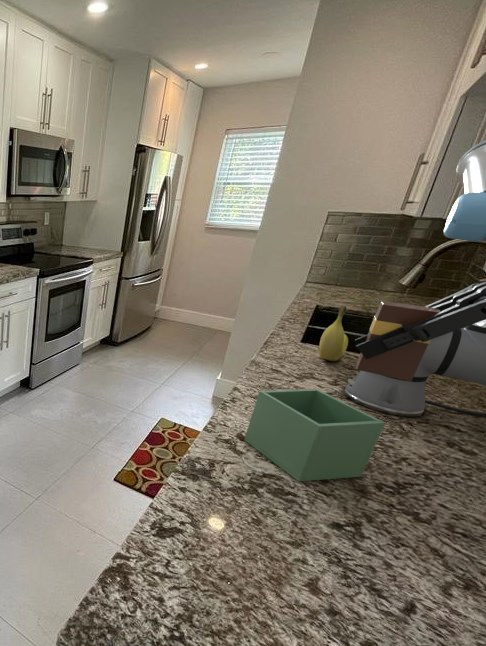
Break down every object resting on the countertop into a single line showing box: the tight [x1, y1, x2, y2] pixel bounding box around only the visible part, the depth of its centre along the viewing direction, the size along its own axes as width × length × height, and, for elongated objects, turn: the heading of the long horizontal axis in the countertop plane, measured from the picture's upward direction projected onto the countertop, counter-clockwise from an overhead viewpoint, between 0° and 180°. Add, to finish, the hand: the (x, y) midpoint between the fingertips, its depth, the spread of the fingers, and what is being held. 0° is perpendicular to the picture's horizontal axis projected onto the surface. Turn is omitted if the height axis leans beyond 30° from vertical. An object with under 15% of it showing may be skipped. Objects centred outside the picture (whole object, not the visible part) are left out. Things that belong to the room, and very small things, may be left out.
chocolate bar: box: [355, 300, 441, 381], centre depth 70 cm, size 4×7×12 cm, turn 51°
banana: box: [318, 305, 349, 362], centre depth 132 cm, size 23×6×20 cm, turn 130°
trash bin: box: [243, 388, 386, 482], centre depth 81 cm, size 14×14×12 cm
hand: (360, 349), depth 73 cm, fingers closed on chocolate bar, 4 cm apart
